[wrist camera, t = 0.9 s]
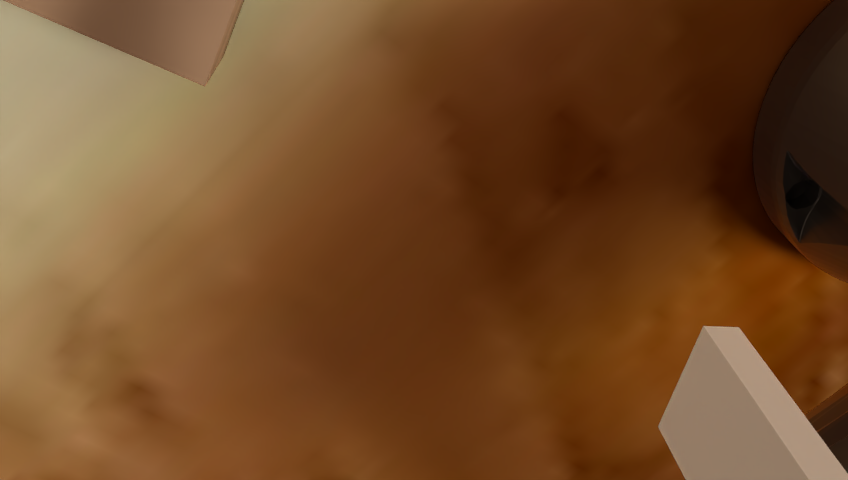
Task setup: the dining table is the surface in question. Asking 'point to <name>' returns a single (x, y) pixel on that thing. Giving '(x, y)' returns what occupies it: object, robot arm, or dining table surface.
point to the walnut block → (152, 29)
